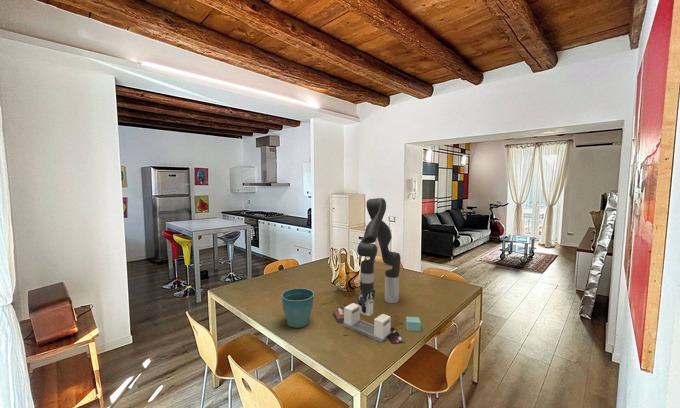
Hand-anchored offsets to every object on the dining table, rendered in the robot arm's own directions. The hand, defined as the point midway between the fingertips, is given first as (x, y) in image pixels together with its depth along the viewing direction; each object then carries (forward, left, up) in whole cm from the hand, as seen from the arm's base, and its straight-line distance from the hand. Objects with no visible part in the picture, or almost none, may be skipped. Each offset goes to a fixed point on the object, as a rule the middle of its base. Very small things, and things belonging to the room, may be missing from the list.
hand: (366, 310), depth 154 cm
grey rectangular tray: (0, 0, -11) cm, 11 cm away
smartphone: (-5, +14, -11) cm, 18 cm away
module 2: (0, +10, -10) cm, 14 cm away
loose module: (0, 0, -1) cm, 1 cm away
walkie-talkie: (-4, -21, -11) cm, 24 cm away
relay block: (-17, +16, -8) cm, 24 cm away
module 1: (0, -10, -10) cm, 14 cm away
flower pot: (+19, -34, -11) cm, 40 cm away
